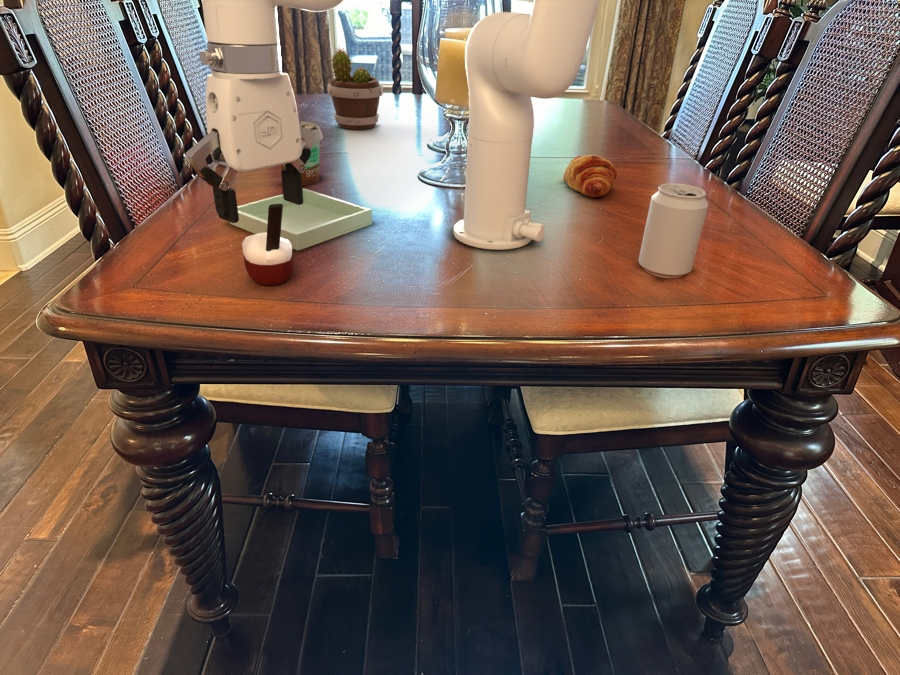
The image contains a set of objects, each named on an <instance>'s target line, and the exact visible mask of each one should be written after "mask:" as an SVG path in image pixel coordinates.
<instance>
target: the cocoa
mask: <svg viewBox="0 0 900 675" xmlns="http://www.w3.org/2000/svg"><path fill="white" fill-rule="evenodd" d="M282 212H283V204H272V205H269V209H268V224H267V233H259V234H251V235H248V236H246V237H245V238H244V239H243V241H242V242H241V245H242V247H241V248H242V257H243V262H244V267H245V269H246V272H247V275H248V277H249V278H250V279H251V280H252V281H253V282H255V283H256V284H258V285H262V286H265V287H266V286H269V287H272V286H273V287H274V286H277V285H280V284H282V283H284V282H286V281H287V280H288V279H289V277H290V276H291V275H292V272H293V268H294V253H293V249H292V245H291V243H290V242H289V240H288V239H284V238H281V237H280V235H281V223H282Z"/></svg>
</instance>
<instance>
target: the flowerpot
mask: <svg viewBox="0 0 900 675" xmlns="http://www.w3.org/2000/svg"><path fill="white" fill-rule="evenodd" d="M328 60H330V61H329V62H330V64H329V65H328V66H330V70H331V71H332V76H333V77H332V78H331V79H330V82H329V83H328V84H327V86H326V87H327V88H326V90H327V94H328V95H329V96H330V97H331V102H332V105H333V108H334V111H335V112H334V113H333V117H334V121H335V123H337V126H338V127H339V128H341V129H347V130H354V131H355V130H365V129H372V128H375V127H376V124H377V123H378V121H379V117H380V114H379V113H378V111H379V105H380V97H382V96H383V94H384V85H383V84H381V83H380V81H379V80H378V79H377V78H376V77H374V76H371V74H370V71H369V70H370V68H369V69H368V68H366V66H363V65H362V64H359V67H357V68H356V69H355V70H353V66H352V64H353V62H354V60H353V59H352V55H350V53H347V50H345V47H343V48H341V46H340V45H338V48H337V47H335V51H333V53H332V55H331V57H330V58H329V59H328Z"/></svg>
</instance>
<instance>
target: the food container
mask: <svg viewBox="0 0 900 675" xmlns="http://www.w3.org/2000/svg"><path fill="white" fill-rule="evenodd" d="M300 126H301V127H303V128H305V129H307V130H309V131H311V132H313V133H314V134H315V139H314V142H313V145H312V149H310V150H311V156H310V157H309V159H308V161H307V162H306V164H305V166H306V169H305V171H304V172H303V173H301V175H302V186H308V185H312V184H315V183H317V182H319V180H320V141H322V140H323V134H322V130H321V128H320V125H319V124H317V123H314V122H310V121H306V120H305V121H302V120H301V121H300ZM282 169H285V167H284V166H283V164H282V165H280V171H281V172H282Z"/></svg>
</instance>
